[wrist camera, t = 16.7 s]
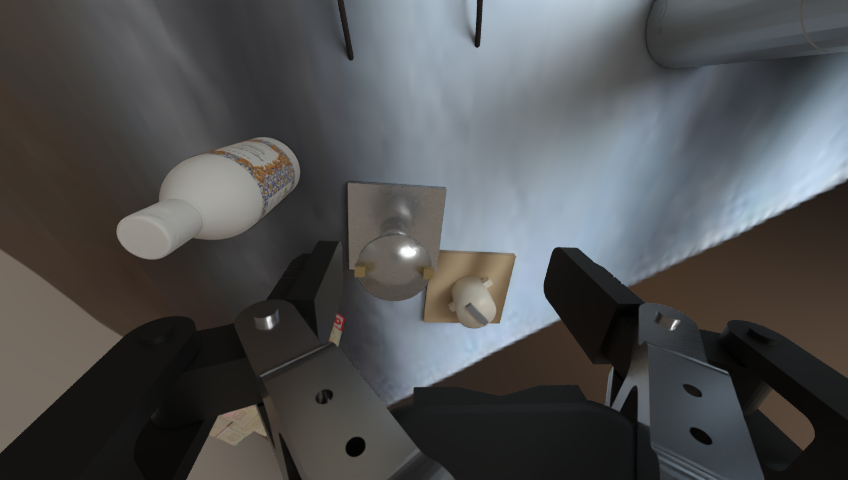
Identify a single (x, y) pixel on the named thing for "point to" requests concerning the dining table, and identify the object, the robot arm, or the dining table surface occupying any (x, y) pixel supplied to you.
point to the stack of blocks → (254, 409)
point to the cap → (473, 301)
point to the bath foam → (212, 197)
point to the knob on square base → (394, 236)
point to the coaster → (463, 265)
